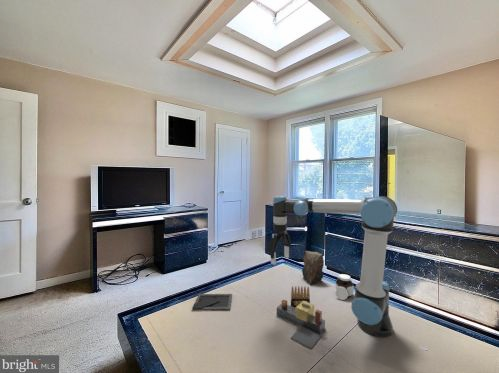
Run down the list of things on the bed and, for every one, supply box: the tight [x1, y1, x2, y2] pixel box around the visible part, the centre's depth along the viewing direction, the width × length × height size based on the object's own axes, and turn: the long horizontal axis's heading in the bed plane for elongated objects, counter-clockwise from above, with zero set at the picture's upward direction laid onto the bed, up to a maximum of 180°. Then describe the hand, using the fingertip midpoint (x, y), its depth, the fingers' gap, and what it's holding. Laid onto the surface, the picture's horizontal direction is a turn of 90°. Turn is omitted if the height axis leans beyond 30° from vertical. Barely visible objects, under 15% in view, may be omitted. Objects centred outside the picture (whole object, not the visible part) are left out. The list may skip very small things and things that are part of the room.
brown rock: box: [301, 250, 325, 286], centre depth 162 cm, size 13×13×20 cm
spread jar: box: [335, 273, 355, 301], centre depth 140 cm, size 12×11×12 cm
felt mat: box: [290, 326, 322, 350], centre depth 103 cm, size 10×10×1 cm
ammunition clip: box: [290, 285, 311, 308], centre depth 128 cm, size 11×2×12 cm, turn 89°
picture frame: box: [192, 293, 233, 311], centre depth 133 cm, size 16×2×21 cm
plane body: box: [276, 299, 326, 335], centre depth 115 cm, size 24×6×9 cm, turn 49°
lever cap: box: [296, 301, 315, 322], centre depth 113 cm, size 6×8×6 cm
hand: (280, 260), depth 129 cm, fingers open, 13 cm apart
